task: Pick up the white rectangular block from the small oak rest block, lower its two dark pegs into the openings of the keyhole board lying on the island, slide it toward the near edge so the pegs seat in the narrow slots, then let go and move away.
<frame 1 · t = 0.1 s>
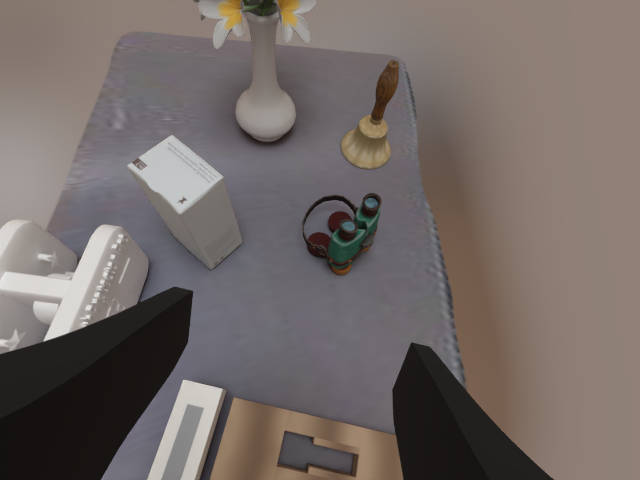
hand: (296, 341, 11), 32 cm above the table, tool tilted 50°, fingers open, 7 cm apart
white rounded box: (93, 316, 41), on the table
skincare box: (205, 238, 47), on the table
binoculars: (333, 242, 49), on the table
hand bell: (365, 149, 57), on the table
white rectangular block: (189, 453, 36), on the table, touching rest block
flower vase: (264, 125, 57), on the table
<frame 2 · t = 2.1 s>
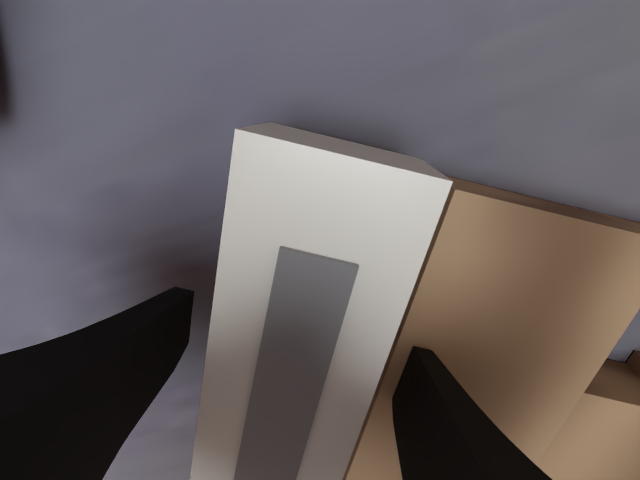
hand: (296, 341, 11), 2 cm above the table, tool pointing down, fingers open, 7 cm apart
white rectangular block: (303, 311, 13), on the table, touching rest block
keyhole board: (606, 423, 14), on the table
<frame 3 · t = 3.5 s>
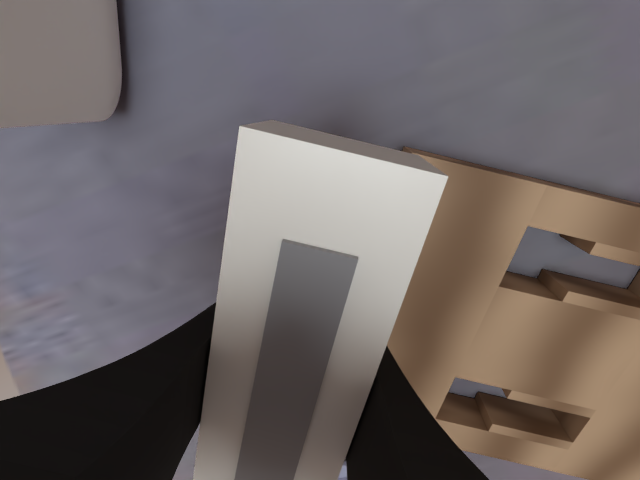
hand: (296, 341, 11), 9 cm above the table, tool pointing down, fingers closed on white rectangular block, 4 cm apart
white rectangular block: (303, 305, 13), point 6 cm above the table, touching gripper
keyhole board: (528, 324, 20), on the table
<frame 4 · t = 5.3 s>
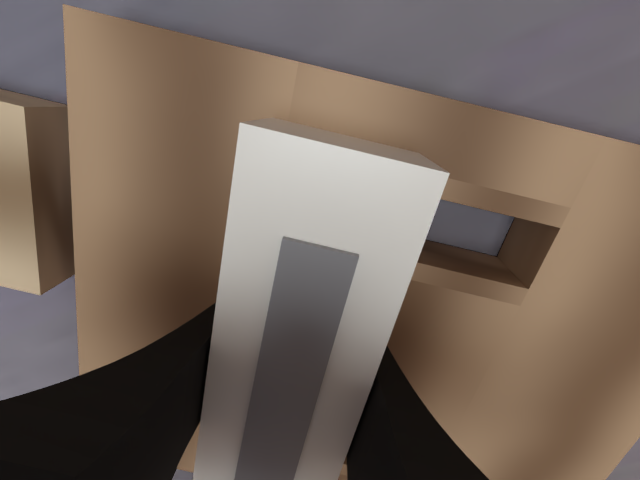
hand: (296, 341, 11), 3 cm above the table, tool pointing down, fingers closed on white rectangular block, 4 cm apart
rest block: (41, 187, 13), on the table
white rectangular block: (304, 304, 13), point 1 cm above the table, touching gripper, keyhole board
keyhole board: (364, 311, 14), on the table
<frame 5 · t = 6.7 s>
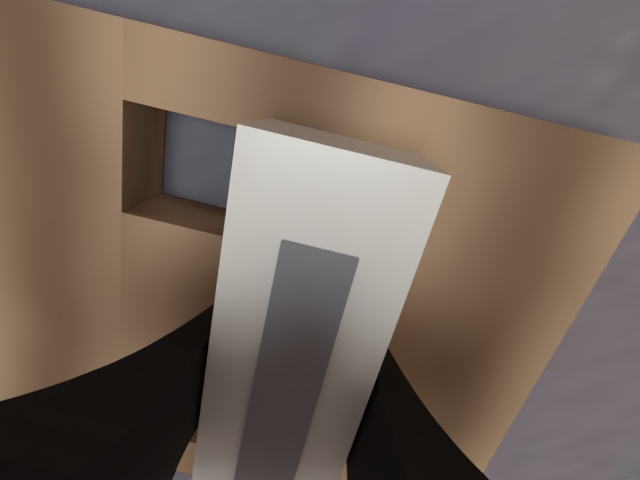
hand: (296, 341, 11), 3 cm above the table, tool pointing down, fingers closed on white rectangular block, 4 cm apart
white rectangular block: (303, 306, 13), point 1 cm above the table, touching gripper, keyhole board
keyhole board: (256, 287, 14), on the table
when the fingers open (3 cm above the table, at t = 7.5 s): white rectangular block stays where it is, resting on keyhole board.
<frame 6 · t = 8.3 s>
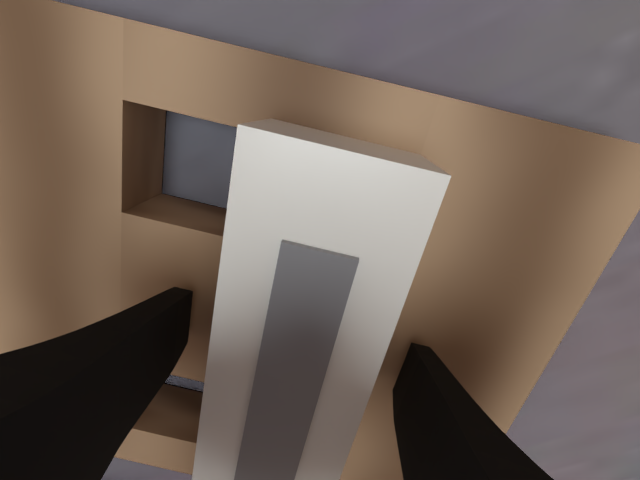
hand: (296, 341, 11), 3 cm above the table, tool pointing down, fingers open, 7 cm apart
white rectangular block: (303, 306, 13), point 1 cm above the table, touching keyhole board
keyhole board: (256, 287, 14), on the table
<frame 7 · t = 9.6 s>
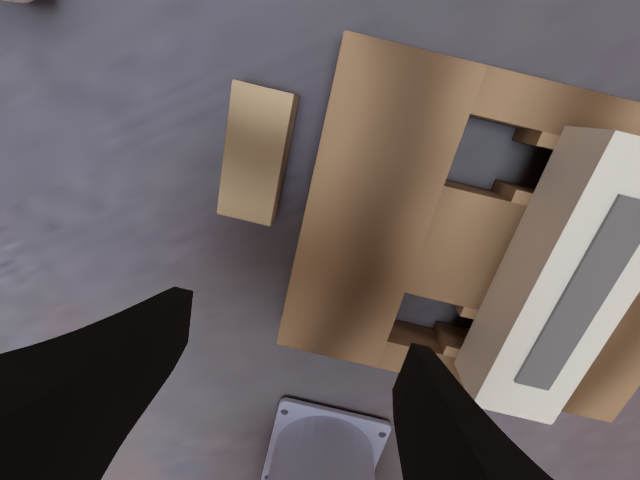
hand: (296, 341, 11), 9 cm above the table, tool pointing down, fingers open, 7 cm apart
rest block: (262, 152, 18), on the table
white rectangular block: (523, 255, 19), point 1 cm above the table, touching keyhole board
keyhole board: (484, 243, 19), on the table
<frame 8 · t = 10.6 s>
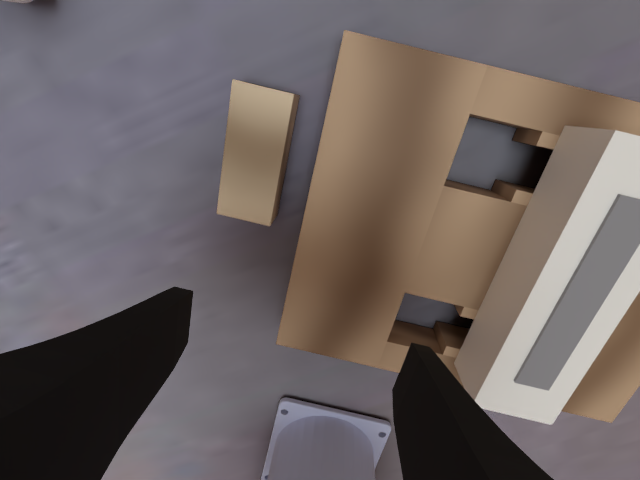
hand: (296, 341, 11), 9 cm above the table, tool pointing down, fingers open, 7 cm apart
rest block: (262, 152, 18), on the table
white rectangular block: (523, 255, 19), point 1 cm above the table, touching keyhole board
keyhole board: (484, 243, 19), on the table
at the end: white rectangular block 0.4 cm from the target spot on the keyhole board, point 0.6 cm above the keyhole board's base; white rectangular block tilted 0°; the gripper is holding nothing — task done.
